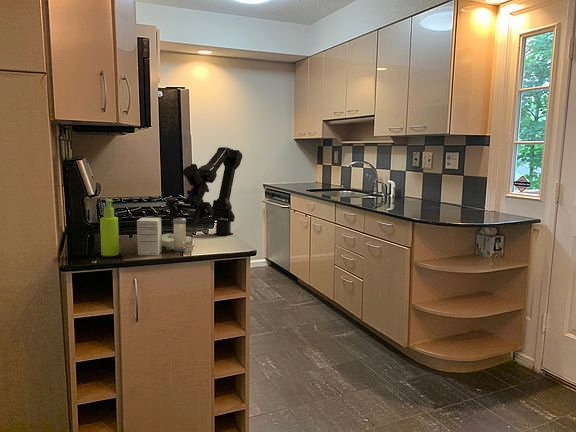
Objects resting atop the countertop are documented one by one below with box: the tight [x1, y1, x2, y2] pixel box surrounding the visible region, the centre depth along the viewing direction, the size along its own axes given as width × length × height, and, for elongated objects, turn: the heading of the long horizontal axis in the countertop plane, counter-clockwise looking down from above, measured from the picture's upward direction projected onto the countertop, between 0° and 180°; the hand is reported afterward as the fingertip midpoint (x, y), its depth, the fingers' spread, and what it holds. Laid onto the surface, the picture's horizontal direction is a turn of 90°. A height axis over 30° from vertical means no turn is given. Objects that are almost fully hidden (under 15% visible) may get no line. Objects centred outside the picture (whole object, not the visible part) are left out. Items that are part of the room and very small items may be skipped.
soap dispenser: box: [99, 198, 120, 257], centre depth 158 cm, size 6×7×20 cm
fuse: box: [173, 217, 187, 252], centre depth 168 cm, size 5×5×12 cm
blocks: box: [166, 244, 196, 253], centre depth 172 cm, size 10×8×1 cm
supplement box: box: [136, 217, 163, 256], centre depth 163 cm, size 7×7×13 cm
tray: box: [161, 233, 193, 248], centre depth 182 cm, size 13×13×2 cm
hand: (181, 224), depth 169 cm, fingers open, 9 cm apart
